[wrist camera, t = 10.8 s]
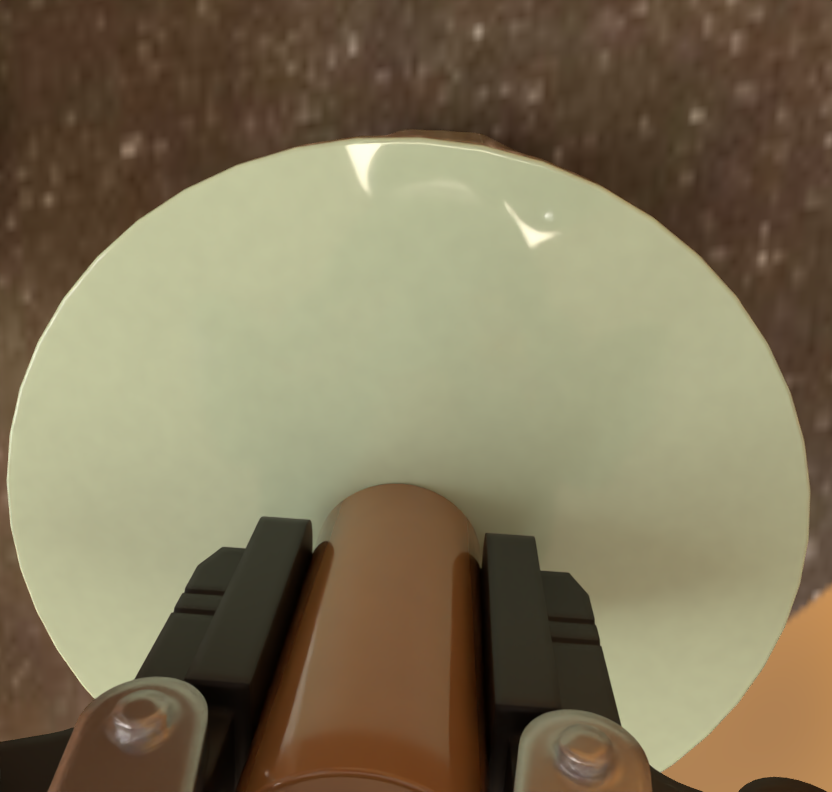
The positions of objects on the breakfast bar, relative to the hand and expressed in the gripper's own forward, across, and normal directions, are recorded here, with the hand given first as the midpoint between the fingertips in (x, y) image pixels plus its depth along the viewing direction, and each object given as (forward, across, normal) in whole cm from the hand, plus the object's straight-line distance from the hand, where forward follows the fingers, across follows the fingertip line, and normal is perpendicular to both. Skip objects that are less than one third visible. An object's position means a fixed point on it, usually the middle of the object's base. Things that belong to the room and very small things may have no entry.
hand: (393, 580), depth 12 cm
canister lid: (+1, 0, 0) cm, 1 cm away
